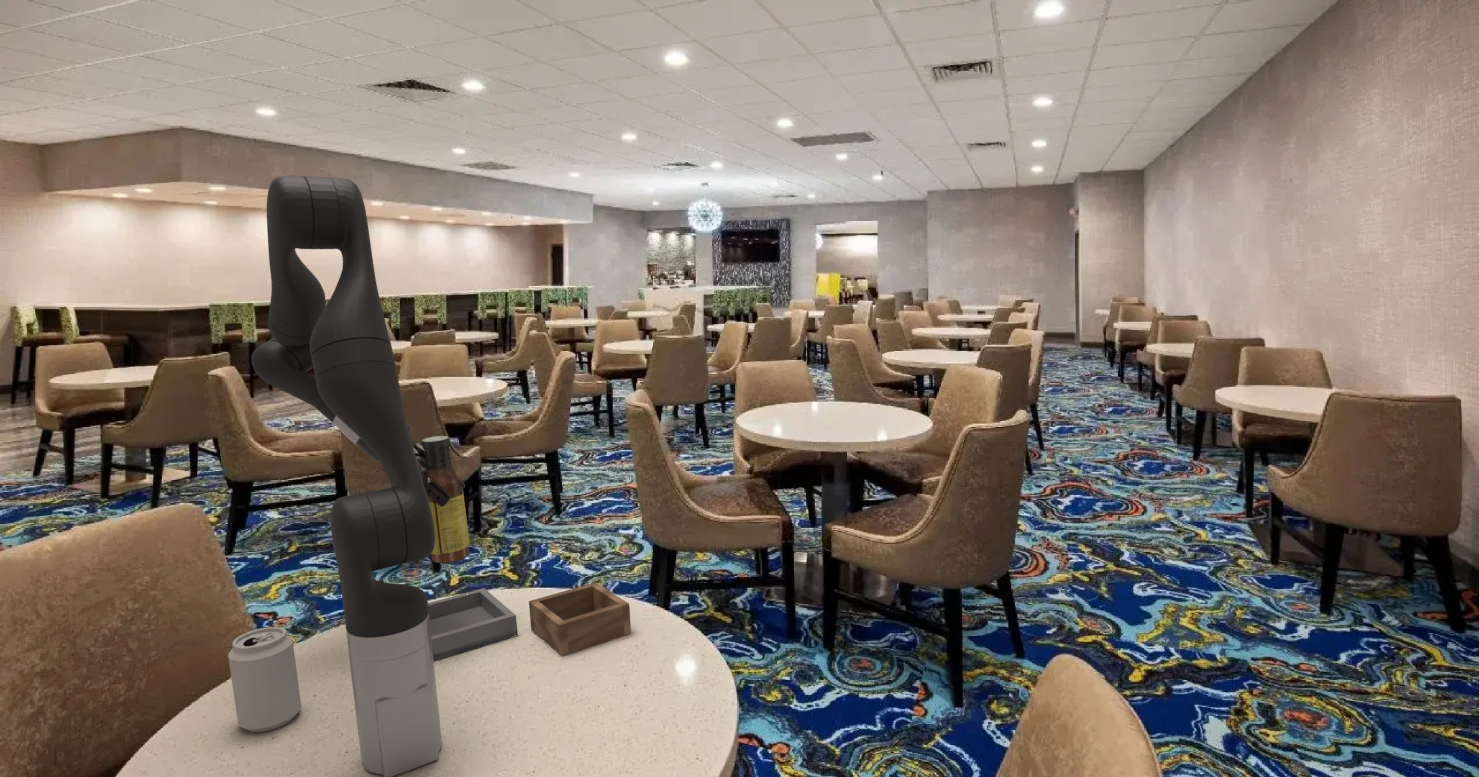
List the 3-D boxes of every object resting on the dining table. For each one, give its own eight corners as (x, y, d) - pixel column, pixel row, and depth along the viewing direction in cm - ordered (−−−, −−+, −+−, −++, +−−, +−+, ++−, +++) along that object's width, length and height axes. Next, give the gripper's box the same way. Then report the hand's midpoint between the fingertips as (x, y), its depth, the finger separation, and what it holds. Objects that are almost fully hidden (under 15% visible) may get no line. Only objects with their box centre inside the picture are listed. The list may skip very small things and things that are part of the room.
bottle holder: (631, 633, 132) (629, 603, 132) (561, 656, 126) (559, 625, 125) (597, 610, 142) (595, 582, 141) (531, 630, 135) (528, 601, 134)
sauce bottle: (476, 551, 136) (467, 433, 133) (460, 565, 130) (449, 442, 127) (438, 551, 136) (428, 433, 133) (420, 565, 130) (409, 442, 127)
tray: (517, 635, 133) (515, 615, 133) (422, 664, 125) (420, 643, 124) (485, 607, 145) (484, 588, 145) (396, 631, 137) (394, 611, 136)
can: (241, 714, 113) (230, 631, 111) (303, 700, 116) (293, 619, 114) (234, 741, 106) (222, 653, 104) (300, 725, 109) (289, 640, 107)
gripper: (368, 417, 122) (455, 491, 124) (405, 401, 136) (483, 468, 138) (336, 453, 123) (423, 527, 125) (376, 433, 137) (454, 500, 139)
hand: (454, 495), depth 132 cm, fingers closed on sauce bottle, 6 cm apart
